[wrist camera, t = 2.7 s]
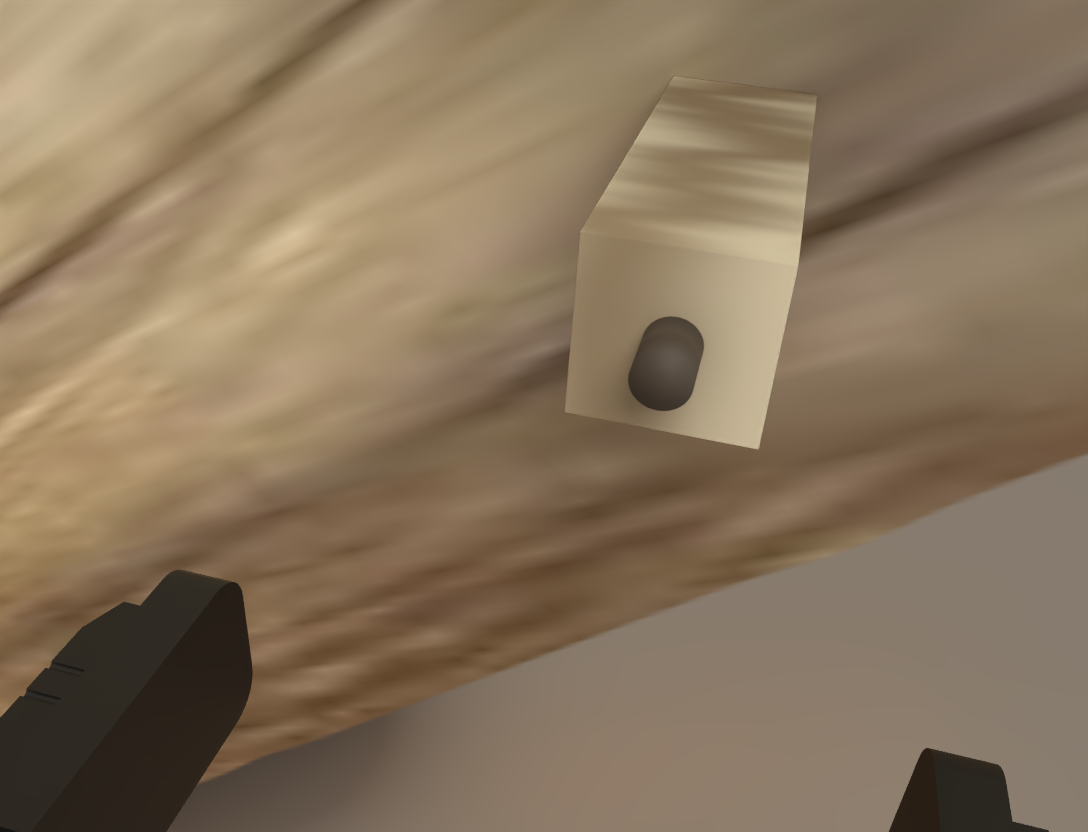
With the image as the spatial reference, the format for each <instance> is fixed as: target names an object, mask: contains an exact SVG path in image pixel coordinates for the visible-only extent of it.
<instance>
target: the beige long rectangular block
mask: <svg viewBox="0 0 1088 832" xmlns="http://www.w3.org/2000/svg"><path fill="white" fill-rule="evenodd" d="M816 101H817V95H816V94H808V93H800V92H793V91H785V90H777V89H769V88H762V87H754V86H746V85H738V84H731V83H723V82H715V81H707V80H700V79H692V78H684V77H676V76H674V77H673V78H672V80H671V82H670V83H669V85H668V87H667V88H666V90H665V92H664V93H663V95H662V97H661V98H660V100H659V102H658V103H657V105H656V107H655V108H654V110H653V112H652V113H651V115H650V117H649V118H648V120H647V122H646V123H645V125H644V127H643V128H642V130H641V132H640V133H639V135H638V137H637V138H636V140H635V142H634V143H633V145H632V147H631V148H630V150H629V152H628V153H627V155H626V157H625V158H624V160H623V162H622V163H621V165H620V167H619V168H618V170H617V172H616V173H615V175H614V177H613V178H612V180H611V182H610V183H609V185H608V186H607V188H606V190H605V191H604V193H603V195H602V196H601V198H600V200H599V201H598V203H597V205H596V206H595V208H594V210H593V211H592V213H591V215H590V216H589V218H588V220H587V221H586V223H585V225H584V226H583V228H582V230H581V231H580V242H579V253H578V265H577V276H576V288H575V299H574V311H573V322H572V334H571V345H570V356H569V368H568V379H567V391H566V402H565V412H567V413H572V414H577V415H582V416H587V417H593V418H598V419H603V420H608V421H613V422H619V423H624V424H629V425H634V426H639V427H645V428H650V429H655V430H660V431H665V432H671V433H676V434H681V435H686V436H691V437H697V438H702V439H707V440H712V441H717V442H723V443H728V444H733V445H738V446H743V447H749V448H754V449H759V444H760V440H761V435H762V431H763V426H764V421H765V417H766V412H767V408H768V403H769V398H770V394H771V389H772V385H773V380H774V375H775V371H776V366H777V362H778V357H779V352H780V348H781V343H782V339H783V334H784V329H785V325H786V320H787V316H788V311H789V306H790V302H791V297H792V293H793V288H794V283H795V279H796V274H797V270H798V264H799V255H800V246H801V237H802V228H803V219H804V210H805V201H806V192H807V183H808V174H809V165H810V156H811V147H812V138H813V129H814V120H815V110H816Z"/></svg>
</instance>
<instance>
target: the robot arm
mask: <svg viewBox="0 0 1088 832" xmlns="http://www.w3.org/2000/svg"><path fill="white" fill-rule="evenodd" d="M51 662H52V663H51V666H50V668H49V669H48V668H45V669H44V670H43V671H42V672H41V673H40V674H39V676H38V677H37V678H36V679H35V680H34V681H33V682H32V683H31V684H30V686H29V687H28V688H27V691H26V694H25V695H24V696H23V697H22V696H20V697H19V698H18V699H17V700H16V701H15V702H14V703H13V704H12V705H11V707H10V708H9V709H8V710H7V711H6V712H5V713H4V714H3V715H2V717H1V718H0V832H166V831H167V830H168V828H169V827H170V825H171V824H172V822H173V820H174V819H175V817H176V816H177V814H178V813H179V811H180V810H181V808H182V807H183V805H184V803H185V802H186V800H187V799H188V797H189V796H190V794H191V793H192V791H193V790H194V788H195V787H196V785H197V783H198V782H199V780H200V779H201V777H202V776H203V774H204V773H205V771H206V770H207V768H208V766H209V765H210V763H211V762H212V760H213V759H214V757H215V756H216V754H217V753H218V751H219V750H220V748H221V746H222V745H223V743H224V742H225V740H226V739H227V737H228V736H229V734H230V733H231V731H232V729H233V728H234V726H235V725H236V723H237V722H238V720H239V718H240V716H241V714H242V712H243V710H244V708H245V705H246V703H247V700H248V696H249V693H250V689H251V684H252V672H253V671H252V661H251V654H250V646H249V639H248V631H247V624H246V616H245V609H244V601H243V594H242V590H241V588H240V586H239V585H238V584H237V583H235V582H231V581H227V580H223V579H219V578H214V577H210V576H206V575H202V574H197V573H193V572H189V571H185V570H175V571H172V572H171V573H169V574H168V575H167V576H166V577H165V578H164V579H163V580H162V581H161V582H160V583H159V584H158V586H157V587H156V588H155V589H154V590H153V591H152V593H151V594H150V595H149V596H148V597H147V598H146V600H145V601H144V602H143V603H142V604H141V605H140V606H139V605H135V604H131V603H127V602H123V603H121V604H120V605H118V606H116V607H115V608H113V609H111V610H110V611H108V612H106V613H105V614H103V615H102V616H100V617H98V618H97V619H95V620H93V621H92V622H90V623H89V624H87V625H85V626H84V627H82V628H81V629H80V630H79V631H78V632H77V634H76V635H75V636H74V637H73V638H72V639H71V640H70V641H69V642H68V644H67V645H66V646H65V647H64V648H63V649H62V650H61V651H60V652H59V653H58V655H57V656H56V657H55V658H54V659H53V660H52V661H51ZM889 832H1049V831H1048V830H1045V829H1041V828H1036V827H1032V826H1029V825H1024V824H1020V823H1016V822H1012V816H1011V810H1010V803H1009V798H1008V791H1007V785H1006V779H1005V775H1004V772H1003V770H1002V768H1001V767H1000V766H999V765H997V764H993V763H989V762H985V761H981V760H976V759H972V758H968V757H964V756H959V755H955V754H951V753H947V752H942V751H938V750H934V749H930V748H926V749H924V750H923V752H922V753H921V755H920V757H919V759H918V762H917V764H916V766H915V769H914V771H913V774H912V776H911V779H910V781H909V784H908V786H907V789H906V791H905V793H904V796H903V798H902V801H901V803H900V806H899V808H898V810H897V813H896V815H895V818H894V820H893V823H892V825H891V828H890V830H889Z"/></svg>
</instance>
